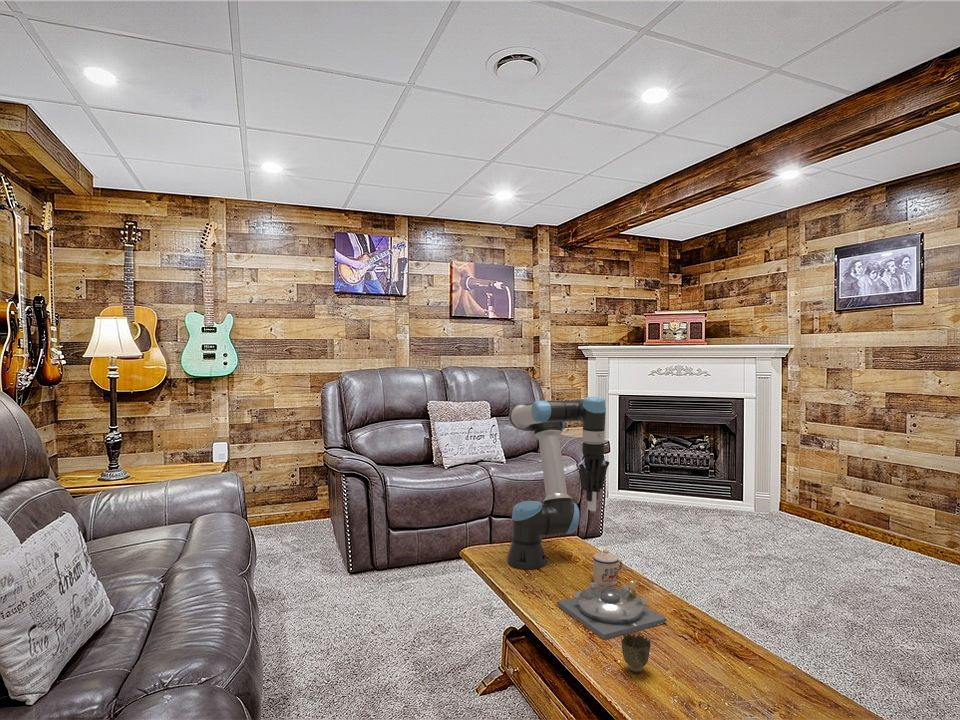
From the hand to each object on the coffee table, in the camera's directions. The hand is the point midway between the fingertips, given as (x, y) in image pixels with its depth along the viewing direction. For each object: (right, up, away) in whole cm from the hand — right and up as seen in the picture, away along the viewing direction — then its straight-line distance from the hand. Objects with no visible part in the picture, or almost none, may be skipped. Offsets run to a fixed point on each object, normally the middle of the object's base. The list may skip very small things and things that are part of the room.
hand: (591, 509), depth 196 cm
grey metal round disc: (+3, -27, -16) cm, 32 cm away
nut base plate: (+3, -29, -16) cm, 33 cm away
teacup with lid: (+8, -29, +10) cm, 31 cm away
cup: (+2, -30, -48) cm, 56 cm away
